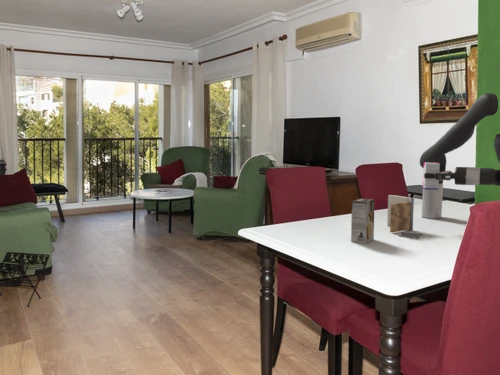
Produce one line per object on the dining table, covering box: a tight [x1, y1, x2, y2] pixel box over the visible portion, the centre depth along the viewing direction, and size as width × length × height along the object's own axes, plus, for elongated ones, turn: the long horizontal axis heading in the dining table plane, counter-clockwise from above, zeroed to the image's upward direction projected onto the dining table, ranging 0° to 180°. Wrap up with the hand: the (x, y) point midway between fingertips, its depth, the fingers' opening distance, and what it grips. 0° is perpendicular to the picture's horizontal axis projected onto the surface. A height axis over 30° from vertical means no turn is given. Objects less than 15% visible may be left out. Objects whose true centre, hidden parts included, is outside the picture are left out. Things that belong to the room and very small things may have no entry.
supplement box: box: [422, 163, 440, 190], centre depth 197 cm, size 6×6×12 cm
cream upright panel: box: [386, 194, 415, 231], centre depth 201 cm, size 2×13×14 cm, turn 33°
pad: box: [398, 231, 423, 239], centre depth 187 cm, size 8×8×1 cm
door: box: [389, 202, 410, 233], centre depth 192 cm, size 11×2×12 cm, turn 123°
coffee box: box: [350, 198, 375, 245], centre depth 177 cm, size 9×6×16 cm
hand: (425, 175), depth 198 cm, fingers closed on supplement box, 7 cm apart
